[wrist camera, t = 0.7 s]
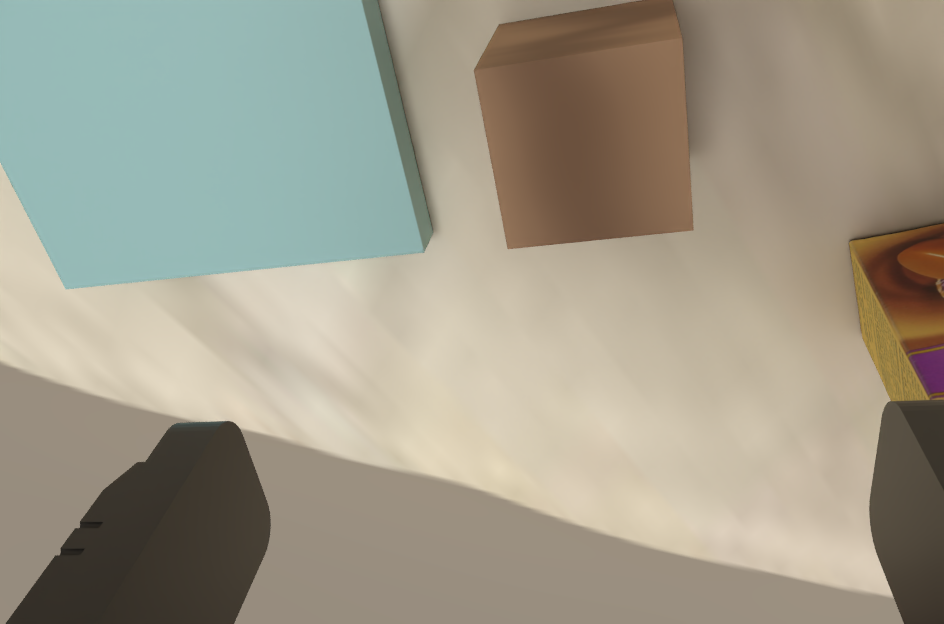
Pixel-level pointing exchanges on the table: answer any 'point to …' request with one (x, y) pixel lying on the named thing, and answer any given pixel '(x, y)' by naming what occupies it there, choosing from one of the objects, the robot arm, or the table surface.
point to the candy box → (903, 309)
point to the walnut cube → (588, 124)
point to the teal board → (206, 136)
